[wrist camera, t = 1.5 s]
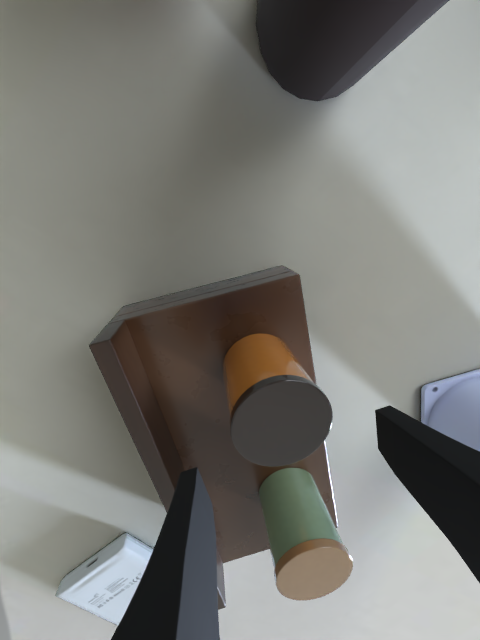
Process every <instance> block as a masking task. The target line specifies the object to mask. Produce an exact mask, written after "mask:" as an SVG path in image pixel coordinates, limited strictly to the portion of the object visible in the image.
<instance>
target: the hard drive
mask: <svg viewBox="0 0 480 640" xmlns="http://www.w3.org/2000/svg"><path fill="white" fill-rule="evenodd" d="M153 550H154V549H152V548H150V547H149V546H147V545H146V544H144V543H142V542H141V541H139V540H137V539H135V538H134V537H132V536H131V535H129V534H128V533H125V534H123V535H121V536H120V537H118V538H117V539H116V540H114V541H113V542H112V543H110V544H109V545H107V546H106V547H105V548H103V549H102V550H100V551H99V552H98V553H96V554H95V555H93V556H92V557H91V558H89V559H88V560H87V561H85V562H84V563H83V564H81V565H80V566H79V567H77V568H76V569H74V570H73V571H72V572H70V573H69V574H68V575H66V576H65V577H64V578H63V579H62V581H61V582H60V585H59V587H58V590H57V593H56V597H58V598H61V599H63V600H65V601H67V602H69V603H71V604H74V605H76V606H78V607H80V608H82V609H84V610H86V611H88V612H90V613H92V614H94V615H97V616H99V617H101V618H103V619H105V620H107V621H109V622H111V623H113V624H116V625H119V623H120V621H121V619H122V617H123V616H124V614H125V612H126V610H127V607H128V605H129V603H130V601H131V599H132V597H133V595H134V593H135V591H136V589H137V587H138V584H139V582H140V580H141V578H142V576H143V573H144V571H145V569H146V566H147V564H148V562H149V559H150V557H151V554H152V552H153Z"/></svg>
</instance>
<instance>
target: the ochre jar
mask: <svg viewBox="0 0 480 640" xmlns="http://www.w3.org/2000/svg"><path fill="white" fill-rule="evenodd" d="M223 376H224V382H225V388H226V394H227V401H228V407H229V413H230V433H231V438H232V442H233V444H234V446H235V448H236V449H237V451H238V452H239V453H240V454H241V455H242V456H243V457H244V458H246V459H247V460H249V461H251V462H253V463H255V464H258V465H262V466H269V467H279V466H285V465H290V464H293V463H296V462H298V461H300V460H303V459H304V458H306V457H308V456H309V455H311V454H312V453H313V452H314V451H316V450H317V449H318V448H319V447H320V446H321V444H322V443H323V442H324V440H325V439H326V437H327V435H328V434H329V431H330V429H331V425H332V408H331V405H330V402H329V400H328V398H327V397H326V395H325V394H324V392H323V391H322V390H321V389H320V388H319V386H317V385H316V384H315V383H314V382H313V381H312V380H311V378H310V377H309V375H308V374H307V373H306V371H305V370H304V368H303V367H302V366H301V364H300V363H299V361H298V360H297V359H296V357H295V356H294V354H293V353H292V352H291V350H290V349H289V347H288V346H287V345H286V344H285V343H284V342H283V341H282V340H281V339H279V338H278V337H275V336H273V335H270V334H261V333H260V334H252V335H249V336H246V337H244V338H242V339H240V340H238V341H237V342H236V343H235V344H234V345H233V346H232V347H231V348H230V349H229V350H228V352H227V354H226V356H225V358H224V362H223Z"/></svg>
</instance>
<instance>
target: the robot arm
mask: <svg viewBox="0 0 480 640" xmlns="http://www.w3.org/2000/svg"><path fill="white" fill-rule="evenodd" d="M375 413H376V426H377V438H378V449H379V451H380V452H381V454H382V455H383V457H384V458H385V460H386V462H387V463H388V465H389V466H390V468H391V469H392V470H393V472H394V473H395V475H396V476H397V477H398V479H399V480H400V481H401V482H402V484H403V485H404V486H405V487H406V488H407V490H408V491H409V492H410V493H411V495H412V496H413V497H414V498H415V499H416V501H417V502H418V503H419V504H420V505H421V507H422V508H423V509H424V510H425V512H426V513H427V514H428V515H429V516H430V518H431V519H432V520H433V521H434V522H435V524H436V525H437V526H438V527H439V529H440V530H441V531H442V532H443V533H444V535H445V536H446V537H447V538H448V540H449V541H450V542H451V544H452V545H453V546H454V548H455V549H456V550H457V552H458V553H459V554H460V556H461V557H462V559H463V560H464V562H465V563H466V564H467V566H468V567H469V569H470V570H471V571H472V573H473V574H474V576H475V577H476V579H477V580H478V581H479V583H480V369H478V370H474V371H471V372H467V373H464V374H460V375H457V376H453V377H450V378H446V379H443V380H440V381H436V382H433V383H429V384H426V385H424V386H423V387H422V389H421V422H420V421H418V420H416V419H414V418H412V417H410V416H408V415H407V414H405V413H403V412H401V411H399V410H397V409H395V408H393V407H392V406H387V407H384V408H380V409H377V410H375ZM111 640H220V637H219V622H218V592H217V553H216V531H215V522H214V514H213V506H212V502H211V499H210V497H209V494H208V492H207V490H206V487H205V485H204V482H203V480H202V477H201V475H200V472H199V470H198V468H197V467H195V468H192V469H189V470H186V471H183V472H181V473H180V475H179V479H178V482H177V485H176V489H175V492H174V495H173V498H172V501H171V504H170V507H169V510H168V513H167V516H166V518H165V521H164V524H163V526H162V529H161V532H160V535H159V537H158V540H157V542H156V545H155V547H154V550H153V552H152V554H151V557H150V559H149V562H148V564H147V566H146V569H145V571H144V573H143V576H142V578H141V580H140V582H139V584H138V587H137V589H136V591H135V593H134V595H133V597H132V599H131V601H130V603H129V605H128V607H127V610H126V612H125V614H124V616H123V617H122V619H121V621H120V623H119V625H118V627H117V629H116V631H115V633H114V635H113V637H112V639H111Z"/></svg>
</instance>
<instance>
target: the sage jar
mask: <svg viewBox="0 0 480 640" xmlns="http://www.w3.org/2000/svg"><path fill="white" fill-rule="evenodd" d="M259 500H260V505H261V510H262V514H263V519H264V523H265V528H266V532H267V537H268V542H269V546H270V551H271V555H272V560H273V564H274V569H275V570H274V577H275V582H276V586H277V589H278V590H279V592H280V593H281V594H282V595H283V596H285V597H287V598H289V599H293V600H311V599H316V598H320V597H322V596H325V595H327V594H329V593H331V592H333V591H335V590H336V589H338V588H339V587H340V586H341V585H342V584H343V583H344V582H345V581H346V580H347V579H348V577H349V576H350V574H351V571H352V567H353V562H352V558H351V556H350V554H349V552H348V550H347V548H346V547H345V546H344V545H343V543H342V540H341V538H340V536H339V534H338V532H337V529H336V527H335V525H334V523H333V520H332V518H331V516H330V514H329V511H328V509H327V507H326V505H325V503H324V500H323V498H322V496H321V494H320V491H319V489H318V487H317V485H316V483H315V480H314V478H313V476H312V475H311V474H310V473H309V472H307V471H306V470H304V469H301V468H285V469H281V470H278V471H276V472H274V473H273V474H271V475H270V476H268V477H267V478H266V479H265V480H264V481H263V483H262V484H261V486H260V489H259Z"/></svg>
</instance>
